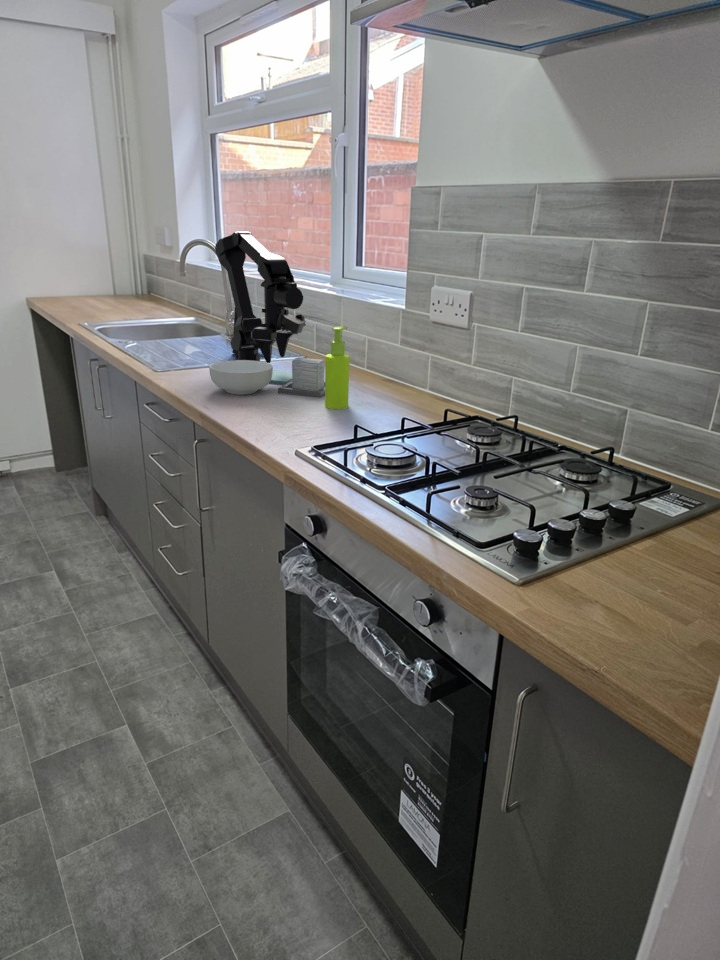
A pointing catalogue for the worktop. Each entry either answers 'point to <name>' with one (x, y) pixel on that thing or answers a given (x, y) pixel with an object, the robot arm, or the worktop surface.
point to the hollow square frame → (300, 391)
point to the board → (281, 377)
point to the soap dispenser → (337, 373)
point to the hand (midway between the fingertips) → (275, 359)
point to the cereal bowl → (241, 375)
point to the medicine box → (308, 374)
